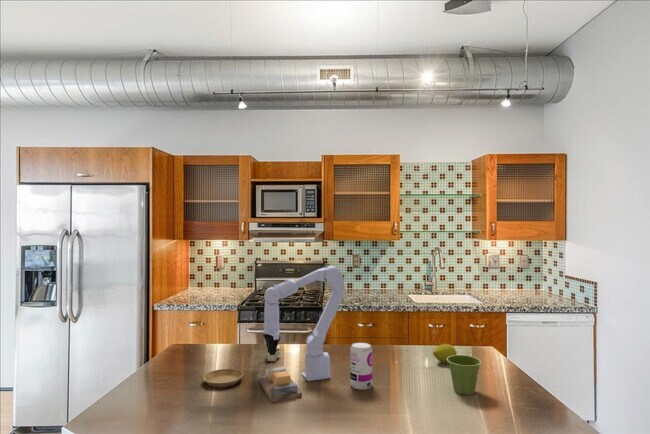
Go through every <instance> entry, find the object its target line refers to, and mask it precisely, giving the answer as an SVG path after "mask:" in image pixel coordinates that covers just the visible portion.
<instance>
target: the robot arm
mask: <svg viewBox="0 0 650 434" xmlns="http://www.w3.org/2000/svg"><path fill="white" fill-rule="evenodd" d="M325 280H326V281H325ZM317 281H318V282H323V283H324V282H327V283H328V284H329V286H330V288H331V294H330V295H329V298H328V300H327V301H326V304H325V307H323V308H324V309H323V310H322V312H321V315H320V317H319V320H318V321H317V324H316V326H315V327H314V329H313V331H312V332H311V334H309V335H308V336H307V337H306V340H305V343H306V351H305V354H304V355H305V356H304V357H305V359H304V360H305V361H304V363H305V368H304V369H305V371H304V372H301V374H302V376H303V377H304V378H305V379H306V380H307V381H308V382H310V381H319V380H325V379H331V378H332V376H331V358H330V355H329V353H328V352H326V351H325V352H324V343H325V340H326V337H327V334H328V330H329V329H330V326H331V325H332V322H333V321H334V319H335V316H336V314H337V311H338V309H339V307H340V306H341V303H342V300H343V299H344V296H345V295H346V289H345V281H344V276H343V273H342V271H341V270H340V269H339V268H338V267H337V266H336V265H333V264H332V265H331V264H330V265H328V266H326V267H325V266H324V267H322V268H318V269H316V270H314V271H311V272H310V273H308V274H306V275H304V276H302V277H299V278H298V279H296V280H294V279H292V278H290V279H288V278H285V279H284V281H283V282H281V283H278V284H273V287H272V286H271V287H268V288H266V290H265V292H264V295H263V298H264V308H263V309H264V310H263V311H264V315H263V316H264V317H263V318H264V319H263V320H264V324H263V325H264V326H263V327H264V329H261V333H262V335H263V337H264V341H265V344H266V351H267V350H268V353H270V355H275V354H276V350H277V345H279V342H280V341H281V336H280V331H281V329H280V306H279V300H280V299H281V300H282V299H285V298H287V297H289V296H291V295H293V294H296V293H297V292H298V290H299V288H301V287H304V286H306V285H309V284H311V283H314V282H317Z"/></svg>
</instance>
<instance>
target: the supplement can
mask: <svg viewBox="0 0 650 434" xmlns="http://www.w3.org/2000/svg"><path fill="white" fill-rule="evenodd" d="M349 352H350V353H349V355H350V356H349V357H350V359H349V363H350V365H349V367H350V368H349V369H350V370H349V373H350V374H349V377H350V380H349V381H350V383H349V385H350V386H351V387H352V388H353V389H355V390H361V391H362V390H363V391H364V390H369V389H370V388H372V386H373V348H372V345H371V344H370V343H367V342H354V343H352V344H351V347H350V351H349Z"/></svg>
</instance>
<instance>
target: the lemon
mask: <svg viewBox="0 0 650 434" xmlns="http://www.w3.org/2000/svg"><path fill="white" fill-rule="evenodd" d="M432 354H433V356H434V358H435V359H436V360H437V361H438V362H440V363H443V364H449V363H448V361H447V357H449V356H452V355H457V350H456V349H455V347H454V346H453V345H451V344H449V343H442V344H440V345H438V346H436V348H435V349H434V350H433V352H432Z"/></svg>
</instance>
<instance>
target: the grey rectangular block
mask: <svg viewBox="0 0 650 434" xmlns="http://www.w3.org/2000/svg"><path fill="white" fill-rule="evenodd" d="M283 371H287V369H286V368H285V366H279V367H271V368H266V369H265V376H266V380H267V382H272V381H273V373H276V372H283Z"/></svg>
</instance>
